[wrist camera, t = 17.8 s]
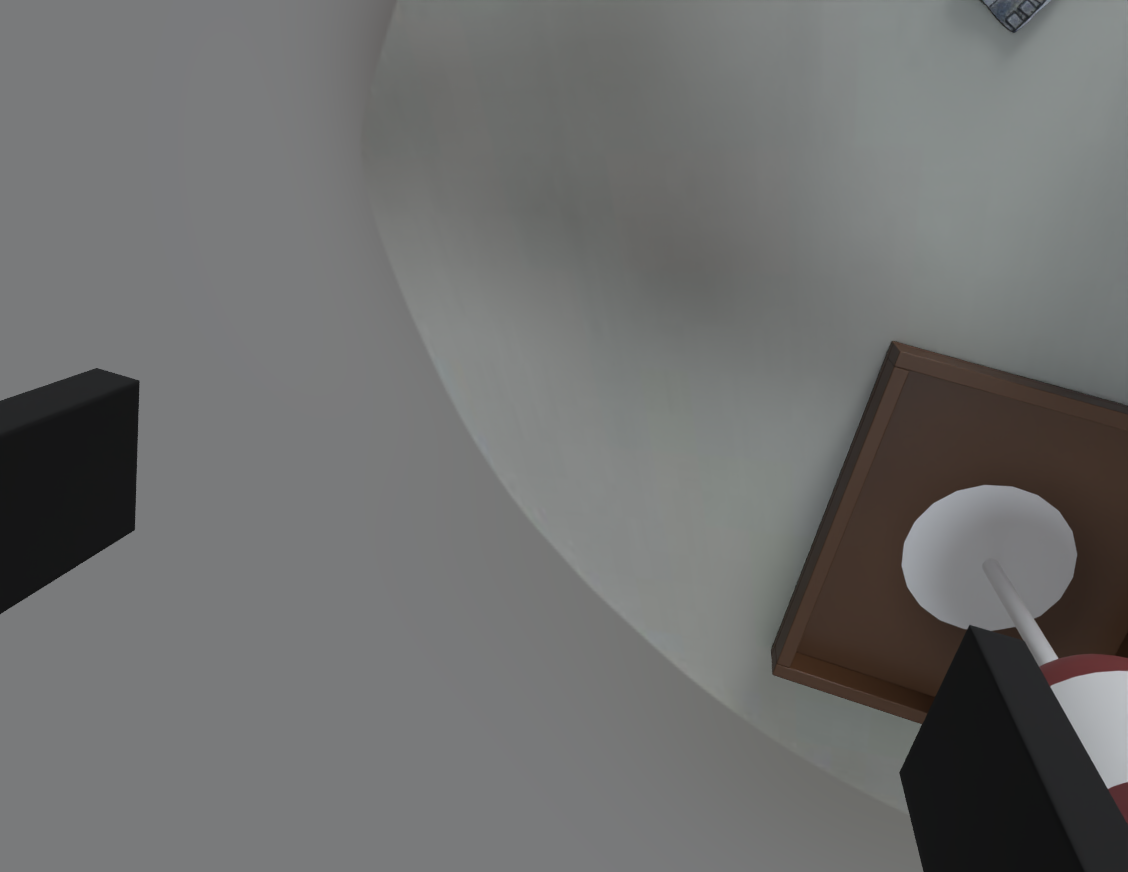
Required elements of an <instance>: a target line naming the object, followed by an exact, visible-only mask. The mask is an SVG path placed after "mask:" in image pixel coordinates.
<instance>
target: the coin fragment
mask: <svg viewBox="0 0 1128 872" xmlns="http://www.w3.org/2000/svg"><path fill="white" fill-rule="evenodd" d="M984 1H985V2H984ZM1050 1H1051V0H983V2H984V3H985V4H986V5H987V6H989V8H990V10H991V11H992V13H993V14H994V15H996V18H998V19H999V20H1000V21H1001V23H1002V24H1004V25H1005V26H1006V27H1007V28H1008V29H1009V30H1010V31H1012V32H1016V31H1017V30H1018V29H1020V28H1021V27H1023V26H1024V25H1025V24H1026V23H1028V22H1029V21H1030V20H1031V19H1032V17H1033V16H1034V15H1035V14H1036V13H1037V12H1038V11H1039V10H1040V9H1042V8H1043V7H1044V6H1045V5H1046V4H1048V3H1049V2H1050Z"/></svg>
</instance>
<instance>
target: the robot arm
mask: <svg viewBox="0 0 1128 872" xmlns="http://www.w3.org/2000/svg"><path fill="white" fill-rule="evenodd" d="M138 409H139V380H135V379H132V378H129V377H125V376H122V375H118V374H115V373H112V372H108V371H104V370H101V369H98V368H96V369H93V370H90V371H87V372H84V373H81V374H78V375H75V376H72V377H69V378H67V379H64V380H60V381H57V382H54V383H52V384H49V385H46V386H43V387H40V388H37V389H34V390H31V391H28V392H25V393H22V394H19V395H16V396H14V397H10V398H7V399H4V400H2V401H0V614H1V613H3V612H4V611H6V610H7V609H9V608H10V607H12V606H14V605H15V604H17V603H19V602H20V601H22V600H23V599H25V598H27V597H28V596H30V595H31V594H33V593H35V592H36V591H38V590H39V589H41V588H42V587H44V586H46V585H47V584H49V583H51V582H52V581H54V580H55V579H57V578H59V577H60V576H62V575H63V574H65V573H67V572H68V571H70V570H71V569H73V568H75V567H76V566H78V565H79V564H81V563H83V562H84V561H86V560H87V559H89V558H91V557H92V556H94V555H95V554H97V553H99V552H100V551H102V550H103V549H105V548H107V547H108V546H110V545H111V544H113V543H114V542H116V541H118V540H119V539H121V538H123V537H124V536H126V535H127V534H129V533H131V532H132V531H134V530H135V505H136V473H137V440H138V439H137V438H138ZM900 777H901V781H902V785H903V789H904V793H905V798H906V802H907V806H908V810H909V814H910V818H911V822H912V826H913V830H914V834H915V839H916V843H917V846H918V851H919V855H920V859H921V863H922V867H923V871H924V872H1128V824H1127V822H1126V820H1125V819H1124V817H1123V815H1122V813H1121V812H1120V810H1119V808H1118V806H1117V804H1116V803H1115V801H1114V799H1113V797H1112V796H1111V794H1110V792H1109V790H1108V788H1107V787H1106V785H1105V783H1104V781H1103V780H1102V778H1101V776H1100V774H1099V772H1098V771H1097V769H1096V767H1095V765H1094V764H1093V762H1092V760H1091V758H1090V756H1089V755H1088V753H1087V751H1086V749H1085V748H1084V746H1083V744H1082V742H1081V740H1080V739H1079V737H1078V735H1077V733H1076V732H1075V730H1074V728H1073V726H1072V724H1071V723H1070V721H1069V719H1068V717H1067V716H1066V714H1065V712H1064V710H1063V708H1062V707H1061V705H1060V703H1059V701H1058V700H1057V698H1056V696H1055V694H1054V692H1053V691H1052V689H1051V687H1050V685H1049V684H1048V682H1047V680H1046V678H1045V676H1044V675H1043V673H1042V671H1041V669H1040V668H1039V666H1038V664H1037V662H1036V660H1035V659H1034V657H1033V655H1032V653H1031V652H1030V650H1029V648H1028V646H1027V644H1026V643H1025V641H1023V640H1020V639H1016V638H1013V637H1010V636H1006V635H1003V634H999V633H996V632H993V631H989V630H986V629H982V628H979V627H976V626H972V625H969V627H968V629H967V631H966V633H965V635H964V637H963V639H962V641H961V644H960V646H959V648H958V650H957V652H956V654H955V656H954V658H953V660H952V663H951V665H950V667H949V669H948V671H947V673H946V675H945V677H944V680H943V682H942V684H941V686H940V688H939V690H938V692H937V694H936V696H935V699H934V701H933V703H932V705H931V707H930V709H929V711H928V713H927V715H926V718H925V720H924V722H923V724H922V726H921V728H920V730H919V732H918V735H917V737H916V739H915V741H914V743H913V745H912V747H911V749H910V751H909V754H908V756H907V758H906V760H905V762H904V764H903V766H902V768H901V771H900Z"/></svg>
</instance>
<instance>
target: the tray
mask: <svg viewBox="0 0 1128 872" xmlns="http://www.w3.org/2000/svg"><path fill="white" fill-rule="evenodd" d="M982 485H995V486H1013V487H1015V488H1018V489H1021V490H1024V491H1027V492H1030V493H1033V494H1036V495H1038V496H1040V497H1041V498H1042V499H1044V500H1045V501H1046V502H1048V503H1049V504H1050V505H1052V506H1053V507H1054V508H1056V509H1057V510H1058V511H1059V512H1060V513H1061V515H1062V516H1063V518H1064V519H1065V521H1066V522H1067V524H1068V525H1069V527H1070V528H1071V530H1072V531H1073V536H1074V541H1075V546H1076V551H1077V558H1076V564H1075V569H1074V575H1073V578H1072V580H1071V582H1070V583H1069V585H1068V587H1067V588H1066V590H1065V592H1064V593H1063V595H1062V597H1061V598H1060V599H1059V600H1058V601H1057V602H1056V603H1055V604H1054V605H1053V606H1051V607H1050V608H1049V609H1048V610H1047V611H1046V612H1044V613H1043V614H1042V615H1041V616H1039V617H1037V618H1034V620H1035V622H1036V623H1037V625H1038V626H1039V628H1040V630H1041V631H1042V633H1043V634H1044V636H1045V638H1046V639H1047V641H1048V642H1049V644H1050V646H1051V647H1052V649H1053V651H1054V652H1055V654H1056V655H1057V657H1058V659H1059V658H1063V657H1068V656H1072V655H1081V654H1103V655H1114V656H1120V657H1125V658H1128V406H1126V405H1122V404H1119V403H1115V402H1112V401H1108V400H1104V399H1101V398H1097V397H1094V396H1090V395H1086V394H1083V393H1079V392H1075V391H1072V390H1068V389H1065V388H1061V387H1057V386H1054V385H1050V384H1047V383H1043V382H1039V381H1036V380H1032V379H1028V378H1025V377H1021V376H1018V375H1014V374H1010V373H1007V372H1003V371H1000V370H996V369H992V368H989V367H985V366H981V365H978V364H974V363H971V362H967V361H963V360H960V359H956V358H952V357H949V356H945V355H942V354H938V353H934V352H931V351H927V350H924V349H920V348H916V347H913V346H909V345H905V344H902V343H898V342H895V341H892V342H891V345H890V347H889V350H888V352H887V355H886V357H885V360H884V362H883V365H882V368H881V370H880V373H879V375H878V378H877V380H876V383H875V386H874V388H873V391H872V393H871V396H870V398H869V401H868V403H867V406H866V409H865V411H864V414H863V416H862V419H861V421H860V424H859V427H858V429H857V432H856V434H855V437H854V439H853V442H852V444H851V447H850V450H849V452H848V455H847V457H846V460H845V462H844V465H843V468H842V470H841V473H840V475H839V478H838V480H837V483H836V485H835V488H834V491H833V493H832V496H831V498H830V501H829V503H828V506H827V509H826V511H825V514H824V516H823V519H822V521H821V524H820V526H819V529H818V532H817V534H816V537H815V539H814V542H813V544H812V547H811V550H810V552H809V555H808V557H807V560H806V562H805V565H804V567H803V570H802V573H801V575H800V578H799V580H798V583H797V585H796V588H795V591H794V593H793V596H792V598H791V601H790V603H789V606H788V608H787V611H786V614H785V616H784V619H783V621H782V624H781V626H780V629H779V632H778V634H777V637H776V639H775V642H774V644H773V647H772V649H771V655H772V674H773V675H775V676H778V677H781V678H784V679H787V680H790V681H793V682H796V683H799V684H802V685H805V686H808V687H811V688H814V689H817V690H820V691H823V692H826V693H829V694H833V695H836V696H839V697H842V698H845V699H848V700H851V701H854V702H857V703H860V704H863V705H866V706H869V707H872V708H875V709H878V710H881V711H884V712H887V713H890V714H893V715H896V716H899V717H902V718H905V719H908V720H911V721H914V722H917V723H920V724H923V722H924V720H925V718H926V715H927V713H928V711H929V709H930V707H931V705H932V703H933V701H934V699H935V696H936V694H937V692H938V690H939V688H940V686H941V684H942V682H943V680H944V677H945V675H946V673H947V671H948V669H949V667H950V665H951V663H952V660H953V658H954V656H955V654H956V652H957V650H958V648H959V646H960V644H961V641H962V639H963V637H964V635H965V633H966V631H967V629H962V628H960V627H957V626H954V625H952V624H949V623H946V622H943V621H941V620H939V619H937V618H936V617H935V616H933V615H932V614H931V613H929V612H928V611H927V610H925V609H924V608H923V607H921V606H920V605H919V603H918V602H917V600H916V599H915V597H914V596H913V595H912V593H911V592H910V590H909V589H908V587H907V584H906V581H905V577H904V573H903V569H902V556H903V548H904V542H905V540H906V538H907V536H908V534H909V532H910V530H911V528H912V526H913V524H914V522H915V521H916V520H917V519H918V518H919V517H920V516H921V515H922V514H923V513H924V512H925V511H926V510H927V509H928V508H929V507H930V506H931V505H932V504H933V503H935V502H937V501H939V500H941V499H943V498H944V497H946V496H948V495H950V494H952V493H954V492H956V491H959V490H963V489H968V488H972V487H977V486H982ZM993 632H996V633H999V634H1003V635H1006V636H1010V637H1013V638H1016V639H1020V640H1023V639H1022V637H1021V635H1020V634H1019V632H1018V630H1017V628H1016V627H1012V628H1006V629H1000V630H994V631H993Z"/></svg>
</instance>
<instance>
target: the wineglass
mask: <svg viewBox="0 0 1128 872" xmlns="http://www.w3.org/2000/svg"><path fill="white" fill-rule="evenodd" d="M1076 558H1077V551H1076V546H1075V541H1074V536H1073V531H1072V530H1071V528H1070V527H1069V525H1068V524H1067V522H1066V521H1065V519H1064V518H1063V516H1062V515H1061V513H1060V512H1059V511H1058V510H1057V509H1056V508H1054V507H1053V506H1052V505H1050V504H1049V503H1048V502H1046V501H1045V500H1044V499H1042V498H1041V497H1040V496H1038V495H1036V494H1033V493H1030V492H1027V491H1024V490H1021V489H1018V488H1015V487H1013V486H995V485H982V486H977V487H972V488H968V489H963V490H959V491H956V492H954V493H952V494H950V495H948V496H946V497H944V498H943V499H941V500H939V501H937V502H935V503H933V504H932V505H931V506H930V507H929V508H928V509H927V510H926V511H925V512H924V513H923V514H922V515H921V516H920V517H919V518H918V519H917V520H916V521H915V522H914V524H913V526H912V528H911V530H910V532H909V534H908V536H907V538H906V540H905V542H904V548H903V556H902V569H903V573H904V577H905V581H906V584H907V587H908V589H909V590H910V592H911V593H912V595H913V596H914V597H915V599H916V600H917V602H918V603H919V605H920V606H921V607H923V608H924V609H925V610H927V611H928V612H929V613H931V614H932V615H933V616H935V617H936V618H937V619H939V620H941V621H943V622H946V623H949V624H952V625H954V626H957V627H960V628H962V629H968V627H969V625H972V626H976V627H979V628H982V629H986V630H989V631H994V630H1000V629H1006V628H1012V627H1016V628H1017V630H1018V632H1019V634H1020V635H1021V637H1022V639H1023V641H1025V643H1026V644H1027V646H1028V648H1029V650H1030V652H1031V653H1032V655H1033V657H1034V659H1035V660H1036V662H1037V664H1038V666H1039V668H1040V669H1041V671H1042V673H1043V675H1044V676H1045V678H1046V680H1047V682H1048V684H1049V685H1050V687H1051V689H1052V691H1053V692H1054V694H1055V696H1056V698H1057V700H1058V701H1059V703H1060V705H1061V707H1062V708H1063V710H1064V712H1065V714H1066V716H1067V717H1068V719H1069V721H1070V723H1071V724H1072V726H1073V728H1074V730H1075V732H1076V733H1077V735H1078V737H1079V739H1080V740H1081V742H1082V744H1083V746H1084V748H1085V749H1086V751H1087V753H1088V755H1089V756H1090V758H1091V760H1092V762H1093V764H1094V765H1095V767H1096V769H1097V771H1098V772H1099V774H1100V776H1101V778H1102V780H1103V781H1104V783H1105V785H1106V787H1107V788H1108V790H1109V792H1110V794H1111V796H1112V797H1113V799H1114V801H1115V803H1116V804H1117V806H1118V808H1119V810H1120V812H1121V813H1122V815H1123V817H1124V819H1125V820H1126V822H1127V824H1128V658H1125V657H1120V656H1114V655H1103V654H1081V655H1072V656H1068V657H1063V658H1059V659H1058V657H1057V655H1056V654H1055V652H1054V651H1053V649H1052V647H1051V646H1050V644H1049V642H1048V641H1047V639H1046V638H1045V636H1044V634H1043V633H1042V631H1041V630H1040V628H1039V626H1038V625H1037V623H1036V622H1035V620H1034V618H1037V617H1039V616H1041V615H1042V614H1043V613H1044V612H1046V611H1047V610H1048V609H1049V608H1050V607H1051V606H1053V605H1054V604H1055V603H1056V602H1057V601H1058V600H1059V599H1060V598H1061V597H1062V595H1063V593H1064V592H1065V590H1066V588H1067V587H1068V585H1069V583H1070V582H1071V580H1072V578H1073V575H1074V569H1075V564H1076Z"/></svg>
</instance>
